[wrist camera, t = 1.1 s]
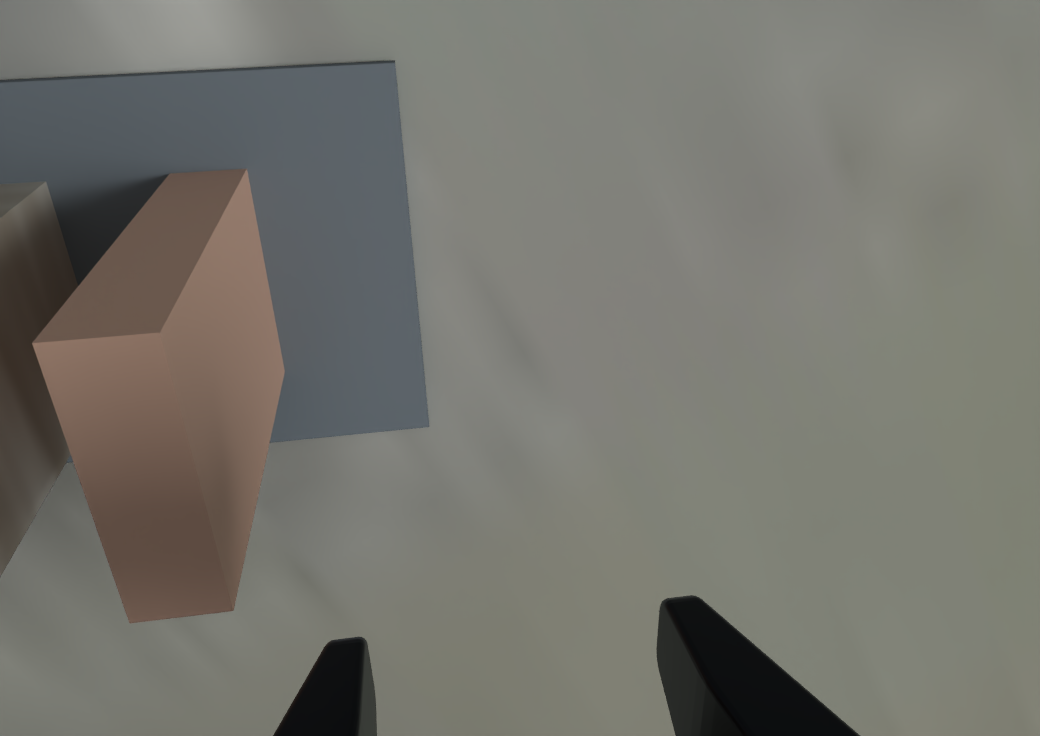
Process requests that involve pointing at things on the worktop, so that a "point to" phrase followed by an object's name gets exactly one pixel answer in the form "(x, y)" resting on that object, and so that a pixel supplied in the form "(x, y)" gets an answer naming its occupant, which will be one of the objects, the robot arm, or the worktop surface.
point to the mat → (256, 209)
